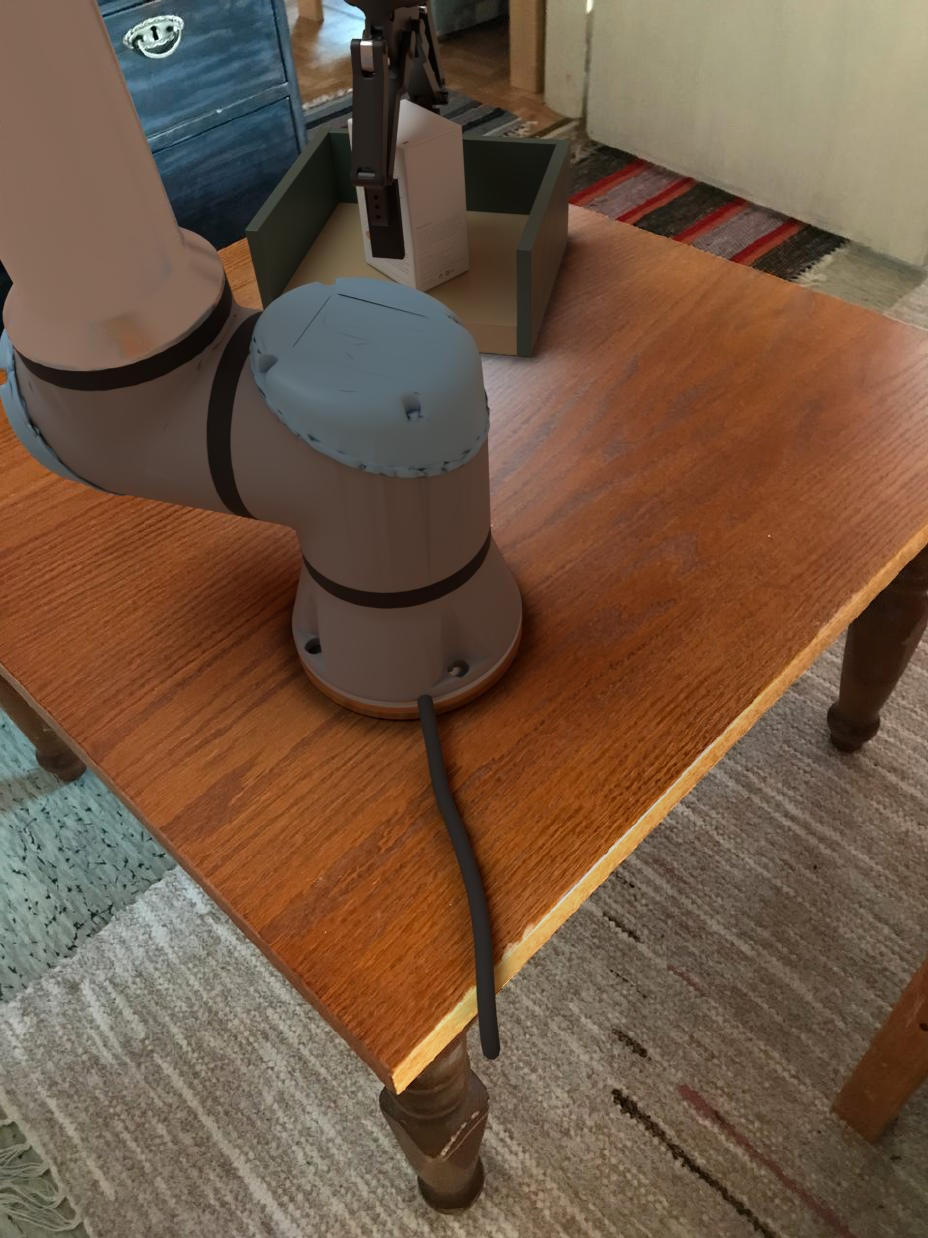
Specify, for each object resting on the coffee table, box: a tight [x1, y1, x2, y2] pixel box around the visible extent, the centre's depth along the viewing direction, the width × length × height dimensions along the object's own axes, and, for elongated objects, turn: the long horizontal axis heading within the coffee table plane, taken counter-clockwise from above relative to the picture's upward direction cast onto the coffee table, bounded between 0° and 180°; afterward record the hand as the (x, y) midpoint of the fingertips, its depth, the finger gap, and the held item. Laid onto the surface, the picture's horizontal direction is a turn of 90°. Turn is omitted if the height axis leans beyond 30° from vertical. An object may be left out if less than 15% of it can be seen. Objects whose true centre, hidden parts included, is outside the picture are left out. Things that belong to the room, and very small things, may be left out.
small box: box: [347, 98, 470, 292], centre depth 86 cm, size 8×6×13 cm
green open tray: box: [244, 126, 572, 358], centre depth 91 cm, size 20×25×10 cm
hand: (410, 218), depth 87 cm, fingers open, 13 cm apart
